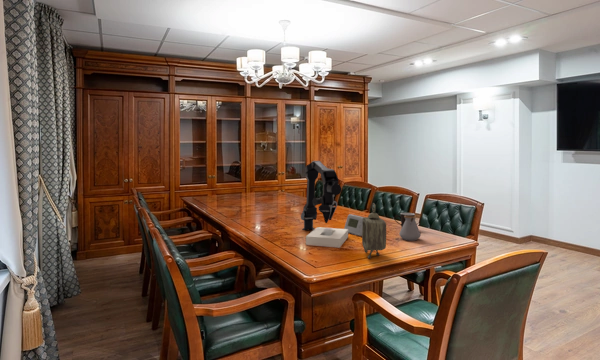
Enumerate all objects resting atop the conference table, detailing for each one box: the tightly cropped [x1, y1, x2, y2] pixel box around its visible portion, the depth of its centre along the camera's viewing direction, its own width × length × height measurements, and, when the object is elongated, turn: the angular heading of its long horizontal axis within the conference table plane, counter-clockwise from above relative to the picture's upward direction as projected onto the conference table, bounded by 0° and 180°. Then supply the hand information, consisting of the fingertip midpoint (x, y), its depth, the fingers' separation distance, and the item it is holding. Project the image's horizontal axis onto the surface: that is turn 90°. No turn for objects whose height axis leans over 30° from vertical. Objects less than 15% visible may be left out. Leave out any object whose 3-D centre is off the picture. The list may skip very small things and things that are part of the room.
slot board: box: [305, 226, 349, 249], centre depth 205 cm, size 24×18×4 cm
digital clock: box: [343, 213, 364, 237], centre depth 222 cm, size 16×9×11 cm, turn 21°
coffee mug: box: [393, 212, 416, 228], centre depth 234 cm, size 12×9×10 cm
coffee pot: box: [399, 215, 422, 242], centre depth 204 cm, size 21×12×15 cm, turn 167°
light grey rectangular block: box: [323, 227, 333, 236], centre depth 205 cm, size 4×4×6 cm
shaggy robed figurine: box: [361, 202, 387, 260], centre depth 176 cm, size 14×9×25 cm, turn 178°
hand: (328, 221), depth 204 cm, fingers open, 9 cm apart
